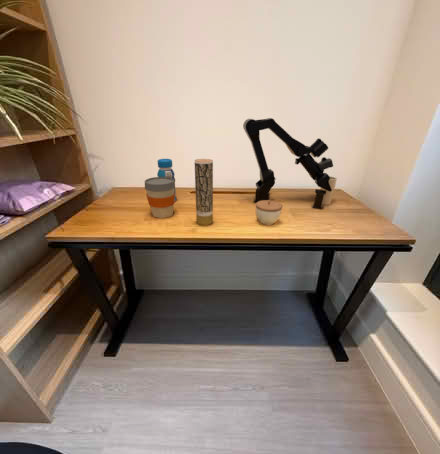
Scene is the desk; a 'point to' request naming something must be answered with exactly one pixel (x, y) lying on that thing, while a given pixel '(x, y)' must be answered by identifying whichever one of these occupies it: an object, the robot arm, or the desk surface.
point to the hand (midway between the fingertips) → (328, 188)
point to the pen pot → (328, 195)
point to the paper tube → (204, 191)
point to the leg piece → (319, 198)
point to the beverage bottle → (166, 170)
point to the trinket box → (268, 211)
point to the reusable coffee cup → (160, 196)
